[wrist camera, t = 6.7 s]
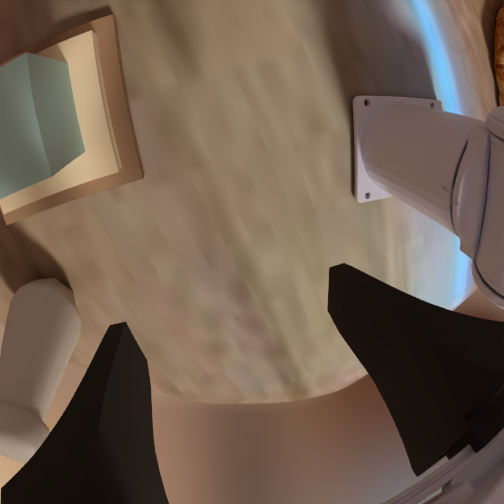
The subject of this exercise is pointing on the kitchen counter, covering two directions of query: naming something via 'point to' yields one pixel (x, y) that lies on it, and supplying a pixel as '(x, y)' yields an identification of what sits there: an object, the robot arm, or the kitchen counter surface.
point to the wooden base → (87, 121)
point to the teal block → (36, 121)
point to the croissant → (499, 54)
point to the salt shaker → (34, 362)
